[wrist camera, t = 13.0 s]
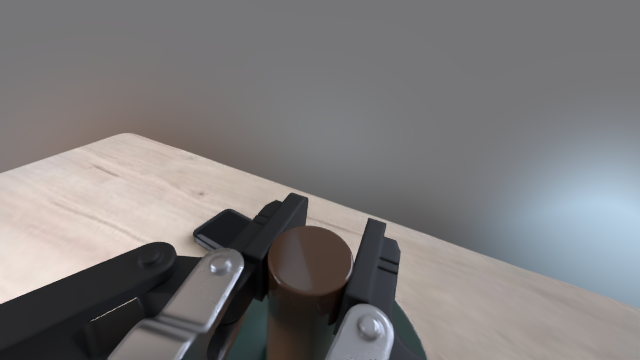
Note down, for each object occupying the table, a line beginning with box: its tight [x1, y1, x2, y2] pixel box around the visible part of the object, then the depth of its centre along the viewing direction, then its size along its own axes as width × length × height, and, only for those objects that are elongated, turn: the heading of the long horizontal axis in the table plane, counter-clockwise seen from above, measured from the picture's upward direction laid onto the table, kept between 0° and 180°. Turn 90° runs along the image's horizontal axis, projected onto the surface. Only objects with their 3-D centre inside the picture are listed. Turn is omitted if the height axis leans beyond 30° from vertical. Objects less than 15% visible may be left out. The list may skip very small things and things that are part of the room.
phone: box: [193, 209, 252, 251], centre depth 39 cm, size 8×1×15 cm
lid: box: [226, 226, 428, 360], centre depth 10 cm, size 13×13×8 cm
